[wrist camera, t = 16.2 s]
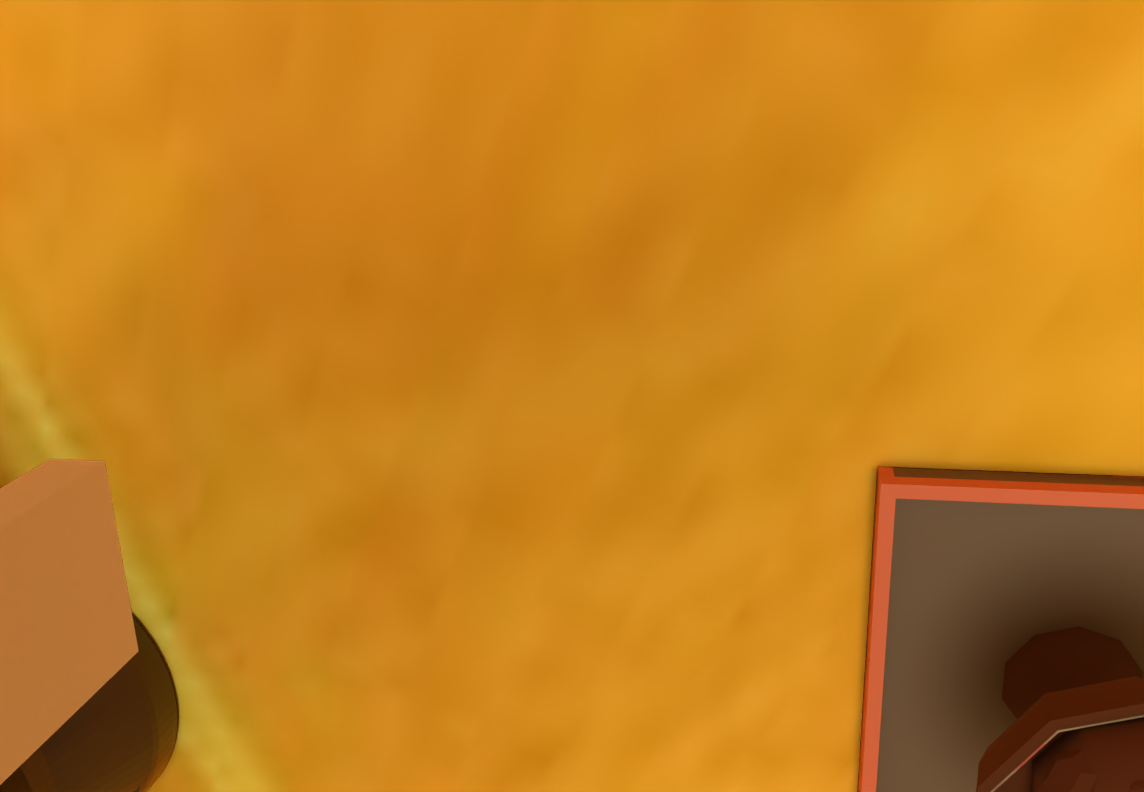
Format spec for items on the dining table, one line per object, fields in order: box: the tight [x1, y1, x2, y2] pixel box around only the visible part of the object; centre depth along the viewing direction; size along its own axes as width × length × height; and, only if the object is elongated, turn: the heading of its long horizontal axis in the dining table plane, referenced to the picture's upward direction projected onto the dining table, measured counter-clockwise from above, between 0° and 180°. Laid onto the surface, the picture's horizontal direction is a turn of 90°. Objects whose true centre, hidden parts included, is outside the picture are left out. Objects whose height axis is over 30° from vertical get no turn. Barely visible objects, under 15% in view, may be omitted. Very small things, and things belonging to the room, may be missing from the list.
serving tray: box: [857, 467, 1144, 792], centre depth 45 cm, size 16×18×2 cm
